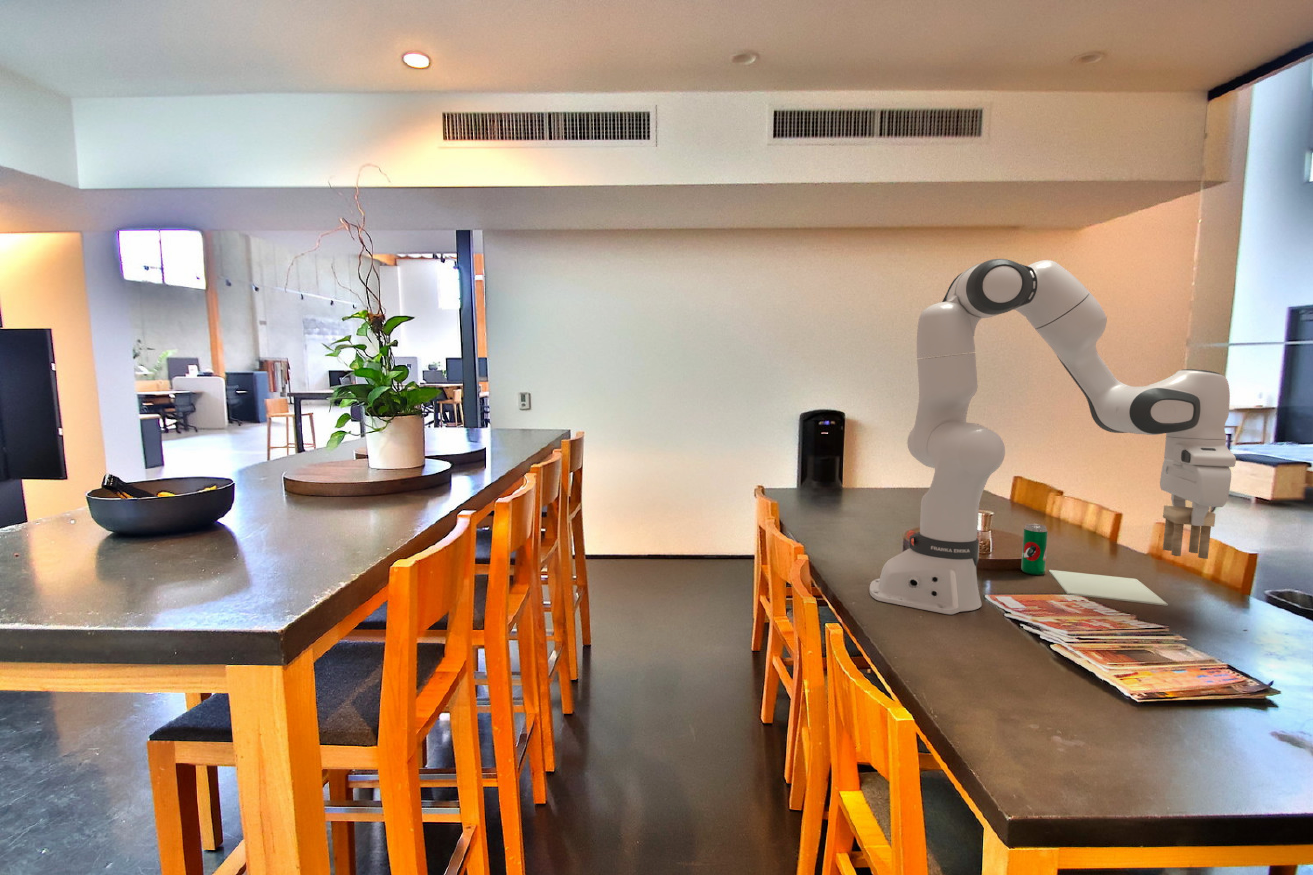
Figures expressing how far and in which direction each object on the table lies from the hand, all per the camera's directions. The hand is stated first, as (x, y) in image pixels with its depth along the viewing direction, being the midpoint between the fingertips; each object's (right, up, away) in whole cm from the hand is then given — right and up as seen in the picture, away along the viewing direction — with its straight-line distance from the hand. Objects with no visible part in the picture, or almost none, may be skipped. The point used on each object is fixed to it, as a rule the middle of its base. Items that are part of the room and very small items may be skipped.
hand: (1187, 521), depth 118 cm
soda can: (-12, -17, +30) cm, 37 cm away
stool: (0, -7, +1) cm, 7 cm away
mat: (-2, -18, +20) cm, 27 cm away
